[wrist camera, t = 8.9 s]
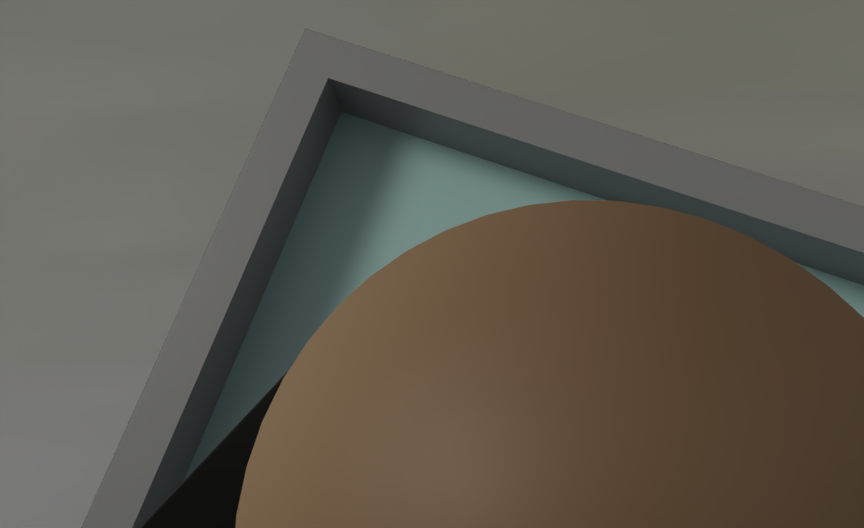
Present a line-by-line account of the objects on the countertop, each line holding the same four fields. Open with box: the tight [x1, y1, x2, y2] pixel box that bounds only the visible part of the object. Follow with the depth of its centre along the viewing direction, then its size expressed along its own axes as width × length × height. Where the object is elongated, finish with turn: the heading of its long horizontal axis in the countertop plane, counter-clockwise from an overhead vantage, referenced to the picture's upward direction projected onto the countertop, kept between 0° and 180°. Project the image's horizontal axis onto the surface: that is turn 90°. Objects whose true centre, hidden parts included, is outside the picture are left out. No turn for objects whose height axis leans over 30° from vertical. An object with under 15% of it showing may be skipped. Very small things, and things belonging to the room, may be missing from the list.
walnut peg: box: [235, 200, 864, 528], centre depth 11 cm, size 4×4×13 cm
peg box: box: [81, 29, 864, 528], centre depth 15 cm, size 13×13×4 cm
